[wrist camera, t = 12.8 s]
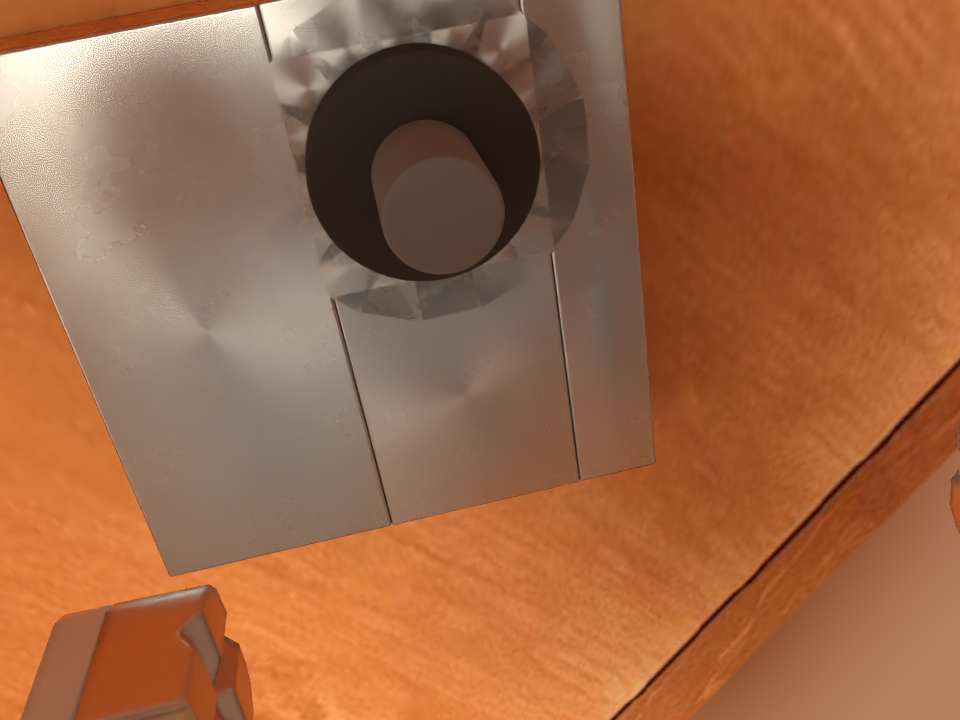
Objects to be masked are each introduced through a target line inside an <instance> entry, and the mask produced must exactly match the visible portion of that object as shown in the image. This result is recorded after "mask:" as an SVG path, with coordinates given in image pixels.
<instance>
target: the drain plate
mask: <svg viewBox="0 0 960 720" xmlns="http://www.w3.org/2000/svg"><path fill="white" fill-rule="evenodd" d="M413 43H430V44H437V45H443V46H448V47H451V48H454V49H458V50H461V51H463V52H465V53H467V54H470V55H472V56H474V57H476V58H477V59H479V60H480V61H482V62H484V63H485V64H487V65H488V66H489V67H490V68H492V69H493V70H494V71H495V72H496V73H498V74H499V75H500V76H501V77H502V78H503V79H504V80H505V81H506V82H507V84H508V85H509V86H510V87H511V88H512V89H513V90H514V91H515V93H516V94H517V95H518V97H519V98H520V100H521V101H522V102H523V104H524V105H525V107H526V109H527V111H528V113H529V115H530V117H531V119H532V122H533V125H534V128H535V131H536V134H537V139H538V144H539V149H540V177H539V183H538V188H537V193H536V196H535V199H534V202H533V205H532V208H531V210H530V212H529V214H528V216H527V218H526V220H525V222H524V223H523V225H522V226H521V228H520V229H519V231H518V232H517V234H516V235H515V236H514V237H513V238H512V240H511V241H510V242H509V243H508V244H507V245H506V246H505V247H504V248H503V249H502V250H501V251H500V252H499V253H498V254H496V255H495V256H494V257H492V258H491V259H490V260H488V261H487V262H485V263H484V264H482V265H480V266H478V267H477V268H475V269H473V270H471V271H468V272H466V273H463V274H461V275H458V276H454V277H451V278H447V279H442V280H435V281H407V280H400V279H395V278H390V277H387V276H384V275H381V274H378V273H376V272H373V271H371V270H369V269H367V268H365V267H363V266H361V265H360V264H358V263H357V262H355V261H354V260H352V259H351V258H350V257H348V256H347V255H346V254H345V253H344V252H343V251H342V250H340V249H339V248H338V247H337V246H336V244H335V243H334V242H333V241H332V240H331V239H330V238H329V236H328V235H327V233H326V232H325V230H324V229H323V227H322V226H321V224H320V222H319V220H318V218H317V216H316V214H315V212H314V210H313V207H312V204H311V201H310V198H309V193H308V188H307V183H306V166H305V154H306V142H307V137H308V132H309V128H310V124H311V121H312V119H313V116H314V113H315V111H316V109H317V107H318V105H319V103H320V101H321V100H322V98H323V96H324V95H325V93H326V92H327V91H328V89H329V88H330V87H331V85H332V84H333V83H334V82H335V81H336V80H337V79H338V78H339V77H340V76H341V75H342V74H343V73H344V72H345V71H346V70H348V69H349V68H350V67H351V66H353V65H354V64H355V63H357V62H359V61H360V60H362V59H364V58H365V57H367V56H369V55H371V54H373V53H376V52H378V51H381V50H383V49H386V48H390V47H394V46H398V45H404V44H413ZM0 180H1V182H2V185H3V187H4V189H5V192H6V194H7V196H8V199H9V201H10V203H11V206H12V208H13V210H14V213H15V215H16V217H17V220H18V222H19V225H20V227H21V229H22V232H23V234H24V236H25V239H26V241H27V243H28V246H29V248H30V250H31V253H32V255H33V257H34V260H35V262H36V264H37V267H38V269H39V271H40V274H41V276H42V278H43V281H44V283H45V285H46V288H47V290H48V292H49V295H50V297H51V299H52V302H53V304H54V306H55V309H56V311H57V314H58V316H59V318H60V321H61V323H62V325H63V328H64V330H65V332H66V335H67V337H68V339H69V342H70V344H71V346H72V349H73V351H74V353H75V356H76V358H77V360H78V363H79V365H80V367H81V370H82V372H83V374H84V377H85V379H86V381H87V384H88V386H89V388H90V391H91V393H92V395H93V398H94V400H95V403H96V405H97V407H98V410H99V412H100V414H101V417H102V419H103V421H104V424H105V426H106V428H107V431H108V433H109V435H110V438H111V440H112V442H113V445H114V447H115V449H116V452H117V454H118V456H119V459H120V461H121V463H122V466H123V468H124V470H125V473H126V475H127V477H128V480H129V482H130V484H131V487H132V489H133V492H134V494H135V496H136V499H137V501H138V503H139V506H140V508H141V510H142V513H143V515H144V517H145V520H146V522H147V524H148V527H149V529H150V531H151V534H152V536H153V538H154V541H155V543H156V545H157V548H158V550H159V552H160V555H161V557H162V559H163V562H164V564H165V566H166V569H167V571H168V573H169V575H170V576H172V577H173V576H177V575H181V574H185V573H190V572H194V571H198V570H202V569H207V568H211V567H215V566H220V565H224V564H228V563H232V562H237V561H241V560H245V559H250V558H254V557H258V556H262V555H267V554H271V553H275V552H279V551H284V550H288V549H292V548H297V547H301V546H305V545H309V544H314V543H318V542H322V541H327V540H331V539H335V538H339V537H344V536H348V535H352V534H357V533H361V532H365V531H369V530H374V529H378V528H382V527H386V526H390V525H391V523H393V525H396V524H400V523H404V522H409V521H413V520H417V519H421V518H426V517H430V516H434V515H439V514H443V513H447V512H451V511H456V510H460V509H464V508H469V507H473V506H477V505H481V504H486V503H490V502H494V501H499V500H503V499H507V498H511V497H516V496H520V495H524V494H528V493H533V492H537V491H541V490H546V489H550V488H554V487H558V486H563V485H567V484H571V483H576V482H578V481H579V479H580V480H582V481H583V480H587V479H592V478H596V477H600V476H605V475H609V474H613V473H617V472H622V471H626V470H630V469H635V468H639V467H643V466H647V465H652V464H654V463H655V461H656V460H655V447H654V433H653V420H652V407H651V393H650V380H649V367H648V353H647V340H646V327H645V313H644V300H643V287H642V273H641V260H640V247H639V233H638V220H637V207H636V193H635V180H634V167H633V153H632V140H631V127H630V113H629V100H628V87H627V73H626V60H625V47H624V33H623V20H622V7H621V0H204V1H199V2H194V3H188V4H183V5H178V6H172V7H167V8H162V9H156V10H151V11H146V12H140V13H135V14H130V15H124V16H119V17H114V18H108V19H103V20H98V21H92V22H87V23H82V24H76V25H71V26H66V27H60V28H55V29H50V30H44V31H39V32H34V33H28V34H23V35H18V36H12V37H7V38H2V39H0Z"/></svg>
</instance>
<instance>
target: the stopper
mask: <svg viewBox="0 0 960 720" xmlns="http://www.w3.org/2000/svg"><path fill="white" fill-rule="evenodd" d="M305 166H306V183H307V188H308V193H309V198H310V201H311V204H312V207H313V210H314V212H315V214H316V216H317V218H318V220H319V222H320V224H321V226H322V227H323V229H324V230H325V232H326V233H327V235H328V236H329V238H330V239H331V240H332V241H333V242H334V243H335V244H336V246H337V247H338V248H339V249H340V250H342V251H343V252H344V253H345V254H346V255H347V256H348V257H350V258H351V259H352V260H354V261H355V262H357V263H358V264H360V265H361V266H363V267H365V268H367V269H369V270H371V271H373V272H376V273H378V274H381V275H384V276H387V277H390V278H395V279H400V280H407V281H435V280H442V279H447V278H451V277H454V276H458V275H461V274H463V273H466V272H468V271H471V270H473V269H475V268H477V267H478V266H480V265H482V264H484V263H485V262H487V261H488V260H490V259H491V258H492V257H494V256H495V255H496V254H498V253H499V252H500V251H501V250H502V249H503V248H504V247H505V246H506V245H507V244H508V243H509V242H510V241H511V240H512V238H513V237H514V236H515V235H516V234H517V232H518V231H519V229H520V228H521V226H522V225H523V223H524V222H525V220H526V218H527V216H528V214H529V212H530V210H531V208H532V205H533V202H534V199H535V196H536V193H537V188H538V183H539V177H540V149H539V144H538V139H537V134H536V131H535V128H534V125H533V122H532V119H531V117H530V115H529V113H528V111H527V109H526V107H525V105H524V104H523V102H522V101H521V100H520V98H519V97H518V95H517V94H516V93H515V91H514V90H513V89H512V88H511V87H510V86H509V85H508V84H507V82H506V81H505V80H504V79H503V78H502V77H501V76H500V75H499V74H498V73H496V72H495V71H494V70H493V69H492V68H490V67H489V66H488V65H487V64H485V63H484V62H482V61H480V60H479V59H477V58H476V57H474V56H472V55H470V54H467V53H465V52H463V51H461V50H458V49H454V48H451V47H448V46H443V45H437V44H430V43H413V44H404V45H398V46H394V47H390V48H386V49H383V50H381V51H378V52H376V53H373V54H371V55H369V56H367V57H365V58H364V59H362V60H360V61H359V62H357V63H355V64H354V65H353V66H351V67H350V68H349V69H348V70H346V71H345V72H344V73H343V74H342V75H341V76H340V77H339V78H338V79H337V80H336V81H335V82H334V83H333V84H332V85H331V87H330V88H329V89H328V91H327V92H326V93H325V95H324V96H323V98H322V100H321V101H320V103H319V105H318V107H317V109H316V111H315V113H314V116H313V119H312V121H311V124H310V128H309V132H308V137H307V142H306V154H305Z"/></svg>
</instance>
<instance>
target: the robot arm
mask: <svg viewBox="0 0 960 720" xmlns="http://www.w3.org/2000/svg"><path fill="white" fill-rule="evenodd" d="M955 446H956V447H957V448H958V449H959V451H960V423H959V425H958V429H957V437H956V444H955ZM950 506H951V510H952V514H953V517H954V520H955V524H956V527H957V529H958V531H959V533H960V468H959V470H958V471H957V472H956V474H955V475H954V476H953V477H952V479H951V492H950ZM226 615H227V612H226V610H225V608H224V605H223V603H222V601H221V598H220V596H219V594H218V591H217V589H216V588H214V587H212V586H211V585H204V586H199V587H194V588H189V589H185V590H180V591H175V592H170V593H165V594H160V595H155V596H150V597H145V598H141V599H136V600H131V601H126V602H121V603H116V604H113V605H112V606H104V607H99V608H95V609H90V610H85V611H81V612H76V613H71V614H67V615H64V616H63V617H62V618H61V619H59V620H58V621H57V622H56V623H55V625H54V626H53V629H52V631H51V634H50V637H49V640H48V643H47V645H46V648H45V651H44V654H43V657H42V660H41V662H40V665H39V668H38V671H37V674H36V676H35V679H34V682H33V685H32V688H31V690H30V693H29V696H28V699H27V702H26V704H25V707H24V710H23V713H22V716H21V719H20V720H253V703H252V692H251V682H250V678H249V674H248V670H247V666H246V662H245V659H244V656H243V654H242V651H241V648H240V646H239V644H238V643H236V642H234V641H233V640H231V639H229V638H228V637H226V636H224V633H225V624H226Z"/></svg>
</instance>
